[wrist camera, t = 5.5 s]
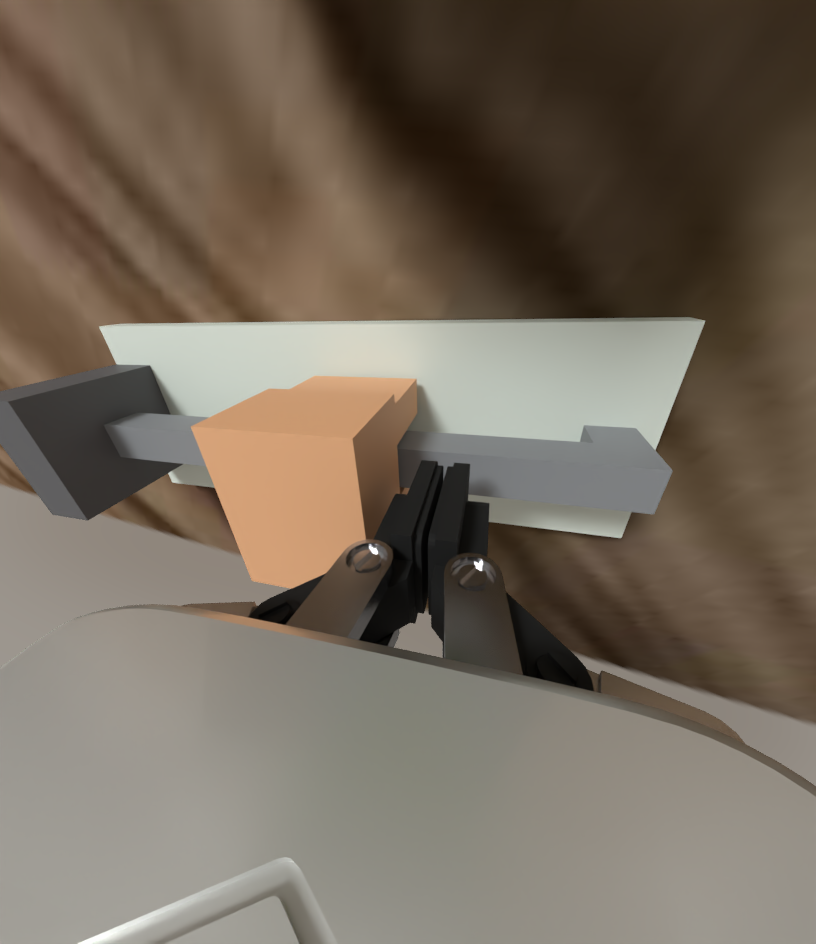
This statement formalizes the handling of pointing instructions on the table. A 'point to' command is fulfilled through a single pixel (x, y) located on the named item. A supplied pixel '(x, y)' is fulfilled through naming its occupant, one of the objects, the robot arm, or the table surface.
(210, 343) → the rail track
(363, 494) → the slider
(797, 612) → the table surface
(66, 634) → the robot arm
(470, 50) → the table surface
